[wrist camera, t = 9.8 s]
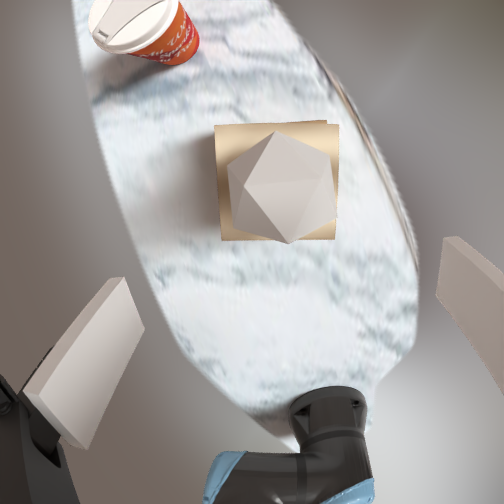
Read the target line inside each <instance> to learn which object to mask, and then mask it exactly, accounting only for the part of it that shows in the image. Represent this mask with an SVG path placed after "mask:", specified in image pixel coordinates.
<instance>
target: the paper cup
mask: <svg viewBox="0 0 504 504" xmlns="http://www.w3.org/2000/svg"><path fill="white" fill-rule="evenodd" d="M88 25H89V30H90V33H91V35H92V37H93V39H94V41H95V43H96V44H97V45H98V46H99V47H100V48H101V49H103V50H105V51H107V52H110V53H114V54H130V55H134V56H138V57H142V58H146V59H150V60H153V61H156V62H160V63H164V64H168V65H177V64H181V63H184V62H186V61H187V60H189V59H190V58H191V57H192V56H193V55H194V54H195V53H196V51H197V49H198V47H199V35H198V32H197V30H196V28H195V27H194V25H193V23H192V21H191V20H190V18H189V16H188V15H187V13H186V11H185V10H184V8H183V7H182V5H181V3H180V2H179V0H95V2H94V3H93V5H92V8H91V10H90V13H89V19H88Z"/></svg>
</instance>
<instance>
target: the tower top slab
mask: <svg viewBox="0 0 504 504" xmlns="http://www.w3.org/2000/svg"><path fill="white" fill-rule="evenodd" d="M214 131H215V150H216V167H217V183H218V198H219V213H220V226H221V239H222V241H234V240H273V239H269V238H266V237H262V236H259V235H255V234H252V233H248V232H245V231H241V230H238V229H234V228H233V220H232V210H231V201H230V191H229V180H228V170H227V165H228V164H230V163H231V162H232V161H234V160H235V159H236V158H238V157H239V156H240V155H242V154H243V153H245V152H246V151H247V150H249V149H250V148H252V147H253V146H254V145H256V144H257V143H259V142H260V141H261V140H263V139H264V138H266V137H267V136H269V135H270V134H271V133H273V132H274V131H278V132H280V133H282V134H285V135H287V136H289V137H292V138H294V139H296V140H298V141H301V142H303V143H305V144H307V145H309V146H311V147H314V148H316V149H318V150H320V151H322V152H324V153H326V154H328V155H329V156H330V163H331V170H332V177H333V184H334V192H335V200H336V209H337V196H338V170H339V125H338V124H316V123H251V124H229V125H214ZM335 230H336V219H334V220H333V221H331V222H329V223H327V224H325V225H323V226H322V227H320V228H318V229H316V230H314V231H312V232H310V233H309V234H307V235H305V236H303V237H301V238H299V239H298V240H335Z"/></svg>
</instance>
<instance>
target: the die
mask: <svg viewBox="0 0 504 504" xmlns="http://www.w3.org/2000/svg"><path fill="white" fill-rule="evenodd" d="M227 170H228V180H229V191H230V201H231V210H232V220H233V228H234V229H238V230H241V231H245V232H248V233H252V234H255V235H259V236H262V237H266V238H269V239H273V240H276V241H280V242H283V243H287V244H290V243H292V242H294V241H296V240H298V239H299V238H301V237H303V236H305V235H307V234H309V233H310V232H312V231H314V230H316V229H318V228H320V227H322V226H323V225H325V224H327V223H329V222H331V221H333V220H334V219H336V218H337V209H336V200H335V192H334V184H333V177H332V170H331V163H330V156H329V155H328V154H326V153H324V152H322V151H320V150H318V149H316V148H314V147H311V146H309V145H307V144H305V143H303V142H301V141H298V140H296V139H294V138H292V137H289V136H287V135H285V134H282V133H280V132H278V131H274V132H273V133H271V134H270V135H269V136H267V137H266V138H264V139H263V140H261V141H260V142H259V143H257V144H256V145H254V146H253V147H252V148H250V149H249V150H247V151H246V152H245V153H243V154H242V155H240V156H239V157H238V158H236V159H235V160H234V161H232V162H231V163H230V164H228V165H227Z"/></svg>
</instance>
